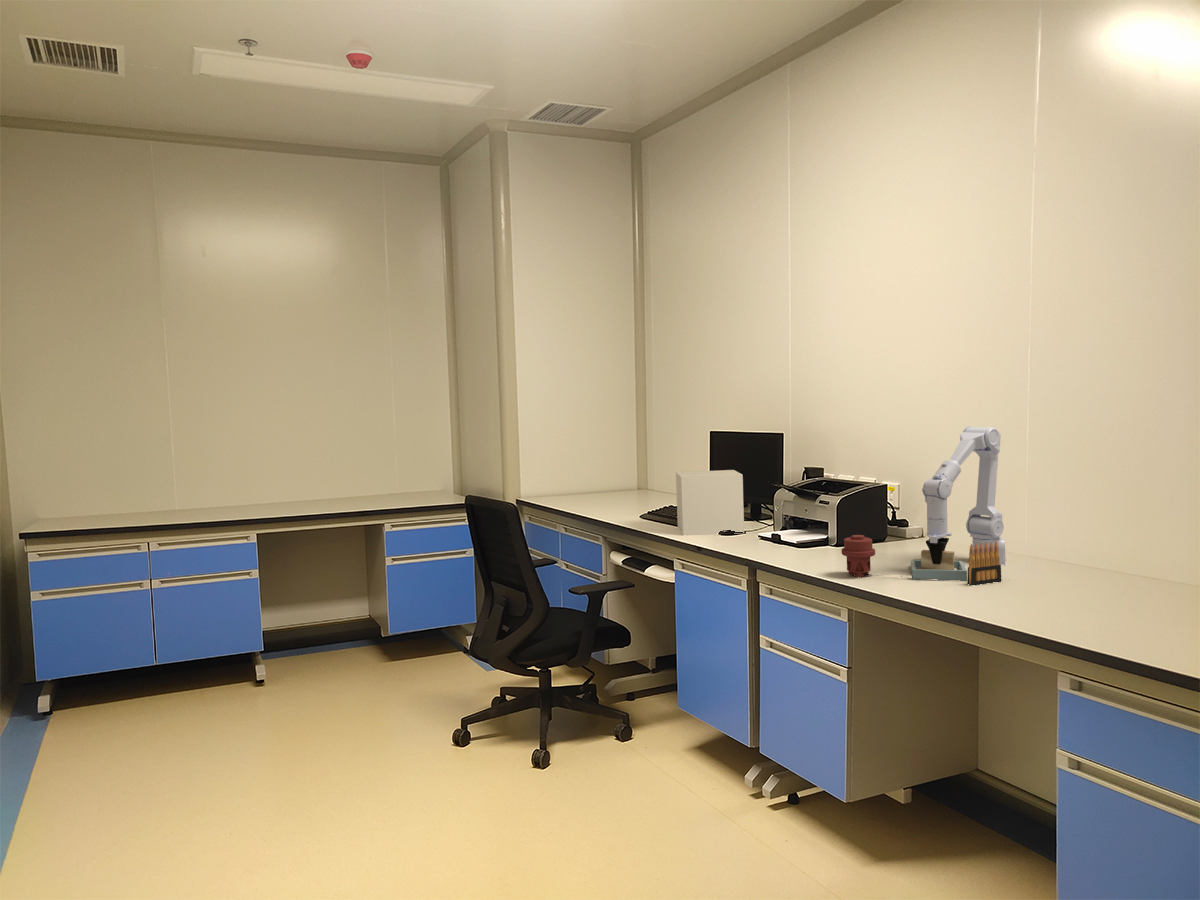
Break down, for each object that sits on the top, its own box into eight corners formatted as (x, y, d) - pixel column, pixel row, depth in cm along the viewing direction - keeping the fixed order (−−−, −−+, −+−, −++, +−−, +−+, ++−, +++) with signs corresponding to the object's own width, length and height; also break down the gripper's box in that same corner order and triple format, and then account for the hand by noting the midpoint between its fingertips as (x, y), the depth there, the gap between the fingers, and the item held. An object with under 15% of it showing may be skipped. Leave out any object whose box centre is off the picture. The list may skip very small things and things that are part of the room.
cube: (735, 526, 372) (733, 469, 370) (744, 534, 351) (742, 474, 349) (677, 528, 372) (675, 472, 370) (683, 536, 351) (681, 477, 349)
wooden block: (923, 567, 265) (922, 549, 264) (954, 569, 260) (954, 551, 260) (921, 569, 262) (921, 551, 262) (952, 571, 258) (952, 553, 257)
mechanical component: (873, 572, 269) (877, 579, 259) (840, 571, 271) (843, 578, 261) (873, 533, 268) (876, 538, 258) (840, 533, 270) (842, 538, 260)
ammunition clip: (971, 585, 246) (971, 544, 245) (967, 584, 248) (966, 543, 247) (1001, 582, 249) (1001, 541, 249) (997, 580, 251) (996, 540, 250)
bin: (962, 570, 266) (962, 560, 266) (967, 581, 252) (966, 571, 252) (910, 569, 271) (910, 559, 271) (912, 579, 257) (912, 569, 256)
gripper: (947, 522, 252) (948, 568, 253) (954, 515, 264) (955, 559, 265) (922, 521, 256) (922, 566, 256) (930, 514, 268) (931, 557, 269)
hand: (937, 562), depth 261 cm, fingers closed on wooden block, 3 cm apart
